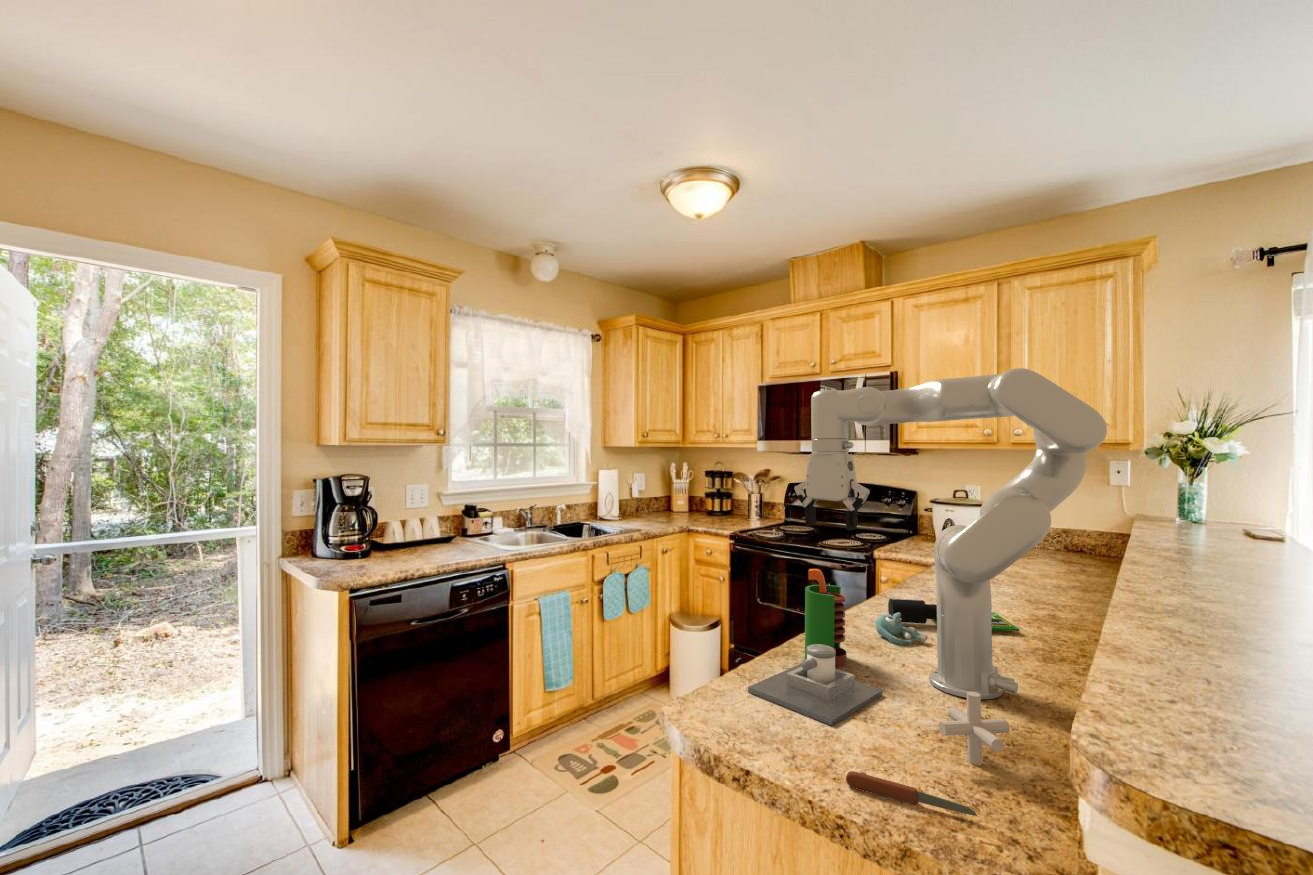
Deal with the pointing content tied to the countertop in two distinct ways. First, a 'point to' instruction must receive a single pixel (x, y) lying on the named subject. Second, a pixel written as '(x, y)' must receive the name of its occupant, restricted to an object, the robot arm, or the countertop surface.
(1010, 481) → the robot arm
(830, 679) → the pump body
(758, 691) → the mount plate
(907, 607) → the electronic board model
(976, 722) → the pipe connector
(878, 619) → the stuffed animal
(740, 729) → the countertop surface
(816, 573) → the motor
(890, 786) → the kitchen knife
